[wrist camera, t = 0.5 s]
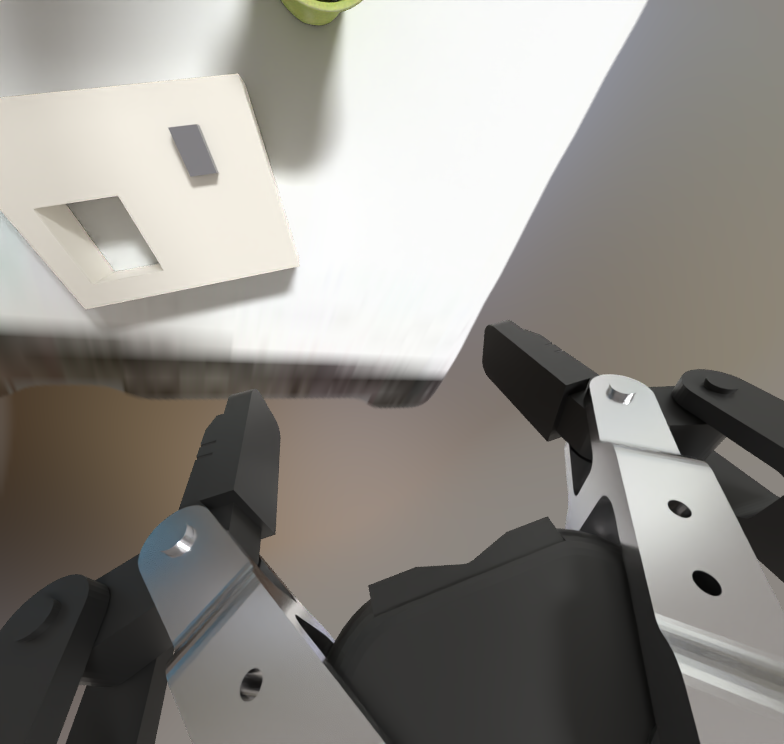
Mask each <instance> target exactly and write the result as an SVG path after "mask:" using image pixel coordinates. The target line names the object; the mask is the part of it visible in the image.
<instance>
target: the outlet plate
mask: <svg viewBox="0 0 784 744" xmlns="http://www.w3.org/2000/svg"><path fill="white" fill-rule="evenodd" d="M114 196H118V197H119V198H120V200H121V202H122V203H123V205H124V207H125V208H126V210H127V211H128V213H129V215H130V216H131V218H132V220H133V221H134V223H135V224H136V226H137V228H138V229H139V231H140V233H141V234H142V236H143V238H144V239H145V241H146V242H147V244H148V246H149V247H150V249H151V251H152V252H153V254H154V256H155V257H156V259H157V260H158V262H159V264H154V265H148V266H143V267H138V268H132V269H127V270H122V271H116V272H115V271H114V270H113V269H112V267H111V266H110V264H109V263H108V262H107V260H106V259H105V257H104V256H103V255H102V253H101V252H100V251H99V249H98V248H97V246H96V245H95V244H94V242H93V241H92V239H91V238H90V237H89V235H88V234H87V232H86V231H85V230H84V228H83V227H82V225H81V224H80V223H79V221H78V220H77V219H76V217H75V216H74V214H73V213H72V212H71V210H70V209H69V207H68V206H67V205H66V204H68V203H74V202H81V201H88V200H94V199H101V198H107V197H114ZM0 210H1V212H2V213H3V214H4V215H5V216H6V217H7V219H8V220H9V221H10V222H11V223H12V224H13V226H14V227H15V228H16V229H17V230H18V231H19V233H20V234H21V235H22V236H23V237H24V238H25V240H26V241H27V242H28V243H29V244H30V246H31V247H32V248H33V249H34V250H35V251H36V253H37V254H38V255H39V256H40V257H41V258H42V260H43V261H44V262H45V263H46V264H47V265H48V267H49V268H50V269H51V270H52V271H53V272H54V274H55V275H56V276H57V277H58V278H59V279H60V281H61V282H62V283H63V284H64V285H65V287H66V288H67V289H68V290H69V291H70V292H71V294H72V295H73V296H74V297H75V298H76V299H77V301H78V302H79V303H80V304H81V305H82V306H83V308H84V309H85V310H86V309H91V308H96V307H101V306H106V305H111V304H116V303H121V302H126V301H131V300H136V299H141V298H146V297H151V296H156V295H160V294H165V293H170V292H175V291H180V290H185V289H190V288H195V287H200V286H205V285H210V284H215V283H220V282H225V281H230V280H235V279H240V278H244V277H249V276H254V275H259V274H264V273H269V272H274V271H279V270H284V269H289V268H294V267H299V255H298V252H297V249H296V245H295V242H294V239H293V236H292V233H291V229H290V226H289V223H288V220H287V217H286V213H285V210H284V207H283V204H282V200H281V197H280V194H279V191H278V188H277V184H276V181H275V178H274V175H273V171H272V168H271V165H270V162H269V159H268V155H267V152H266V149H265V146H264V142H263V139H262V136H261V133H260V130H259V126H258V123H257V120H256V117H255V114H254V110H253V107H252V104H251V101H250V97H249V94H248V91H247V88H246V85H245V84H244V82H243V80H242V78H241V77H240V75H239V73H238V74H228V75H218V76H208V77H198V78H188V79H178V80H168V81H158V82H148V83H138V84H128V85H118V86H108V87H98V88H89V89H79V90H69V91H59V92H49V93H39V94H29V95H19V96H9V97H0Z"/></svg>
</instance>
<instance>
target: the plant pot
mask: <svg viewBox="0 0 784 744" xmlns="http://www.w3.org/2000/svg"><path fill="white" fill-rule="evenodd" d="M281 1H282V2H283V4H284V5H285V7H286V8H287V9H288V10H289V11H290V12H291V13H292V14H293V15H294V16H295V17H296V18H297V19H299V20H300V21H302V22H304V23H307V24H311V25H325V24H328V23H330V22H331V21H333V20H334V19H335V18H336V17H337V16H338V14H339V13H340V12H342V11H346V10H348V9H351V8H352V7H354V6H356V5H357V4H359V3H360V2H361V1H363V0H337V2H330V1H331V0H281Z"/></svg>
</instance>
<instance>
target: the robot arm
mask: <svg viewBox="0 0 784 744" xmlns="http://www.w3.org/2000/svg"><path fill="white" fill-rule="evenodd" d="M483 347H484V348H483V359H482V363H483V368H484V371H485V373H486V375H487V376H488V377H489V379H490V380H491V381H492V382H493V383H494V384H495V385H496V386H497V387H498V388H499V389H500V390H501V392H502V393H503V394H504V395H505V396H506V397H507V398H508V399H509V400H510V401H511V402H512V404H513V405H514V406H515V407H516V408H517V409H518V410H519V411H520V412H521V413H522V414H523V416H524V417H525V418H526V419H527V420H528V421H529V422H530V423H531V424H532V425H533V426H534V428H535V429H536V430H537V431H538V432H539V433H540V434H541V435H542V436H543V437H544V438H545V440H546V441H551V440H554V439H557V438H560V437H562V438H563V439H564V440H565V441H566V444H565V448H564V451H565V463H566V475H567V487H568V500H569V504H568V512H567V518H566V527H565V529H556V528H555V526H554V525H553V524H552V522H551V521H550V519H549V518H548V517H545V518H542V519H540V520H537V521H535V522H532V523H529V524H527V525H524V526H521V527H519V528H516V529H514V530H511V531H509V532H506V533H505V534H504V535H503V536H501V537H500V538H499V539H498V540H497V541H495V542H494V543H493V544H492V545H491V546H490V547H488V548H487V549H486V550H485V551H483V552H482V553H481V554H480V555H479V556H477V557H476V558H475V559H474V560H473V561H471V562H470V563H467V564H461V565H444V566H430V567H415V568H413V569H410V570H407V571H405V572H402V573H399V574H397V575H394V576H392V577H389V578H387V579H384V580H381V581H379V582H376V583H374V584H371V585H369V592H370V597H371V599H370V600H369V601H368V602H367V603H365V604H364V605H363V606H362V607H361V608H360V609H359V610H358V611H357V612H356V613H355V614H354V615H353V616H352V617H351V619H350V620H349V621H348V623H347V624H346V625H345V626H344V628H343V629H342V631H341V632H340V634H339V636H338V637H337V639H336V640H334V639H333V638H332V636H331V635H330V634H329V633H328V632H327V631H326V629H325V628H324V627H323V626H322V625H321V624H320V623H319V622H318V621H317V619H316V618H315V617H313V615H312V614H311V613H310V612H308V610H307V609H306V608H305V607H304V606H303V605H302V604H301V603H300V601H299V600H298V599H297V598H296V597H295V596H294V594H293V593H292V592H291V591H290V590H289V588H288V587H287V586H286V585H285V584H284V582H283V581H282V580H281V579H280V578H279V577H278V575H277V574H276V573H275V572H274V571H273V570H272V568H271V567H270V566H269V565H268V564H267V562H266V561H265V560H264V559H263V558H262V556H261V555H259V552H260V541H261V539H263V538H266V537H269V536H272V535H275V531H276V512H277V493H278V473H279V454H280V431H279V427H278V424H277V422H276V420H275V418H274V416H273V414H272V413H271V411H270V410H269V408H268V406H267V404H266V402H265V401H264V399H263V397H262V396H261V394H260V392H259V391H258V390H257V389H252V390H248V391H245V392H241V393H237V394H234V395H230V396H229V398H228V401H227V405H226V408H225V412H224V414H221V415H218V416H216V418H215V419H214V420H213V421H212V423H211V424H210V425H209V426H208V428H207V429H206V430H205V434H204V436H203V439H202V442H201V447H200V448H199V451H198V454H197V460H195V463H194V466H193V469H192V472H191V475H190V478H189V481H188V484H187V487H186V490H185V493H184V496H183V499H182V501H181V504H180V507H179V510H178V511H177V512H175V513H173V514H172V515H170V516H169V517H167V518H166V519H165V520H164V521H163V522H161V523H160V524H159V525H158V526H157V527H156V528H155V529H154V530H153V532H152V533H151V534H150V535H149V537H148V539H147V540H146V542H145V543H144V545H143V547H142V549H141V552H140V554H138V555H136V556H135V557H133V558H132V559H130V560H128V561H127V562H125V563H123V564H122V565H120V566H118V567H117V568H115V569H113V570H112V571H110V572H109V573H107V574H105V575H104V576H102V577H100V578H99V579H97V580H92V579H90V578H87V577H85V576H83V575H78V574H75V575H69V576H66V577H63V578H60V579H58V580H56V581H54V582H52V583H51V584H49V585H47V586H46V587H44V588H43V589H41V590H40V591H39V592H37V593H36V594H35V595H33V596H32V597H31V598H30V599H29V600H28V601H26V602H25V603H24V604H23V605H22V606H21V607H20V608H19V609H18V610H17V611H16V612H15V613H14V614H13V615H12V617H11V618H10V619H9V620H8V621H7V622H6V624H5V625H4V626H3V628H2V629H1V630H0V744H57V741H58V738H59V736H60V733H61V730H62V728H63V725H64V722H65V720H66V717H67V714H68V712H69V709H70V706H71V704H72V701H73V698H74V696H75V693H76V690H77V687H78V685H87V686H86V689H85V691H84V694H83V697H82V700H81V703H80V705H79V708H78V711H77V714H76V716H75V719H74V722H73V725H72V728H71V730H70V733H69V736H68V739H67V742H66V744H155V739H156V734H157V729H158V724H159V719H160V715H161V710H162V705H163V700H164V695H165V690H166V686H167V682H168V685H169V688H170V690H171V693H172V695H173V698H174V700H175V702H176V705H177V707H178V710H179V712H180V715H181V717H182V720H183V722H184V724H185V727H186V730H187V732H188V734H189V737H190V739H191V742H192V744H784V611H783V610H782V607H781V606H780V604H779V602H778V600H777V598H776V596H775V594H774V592H773V590H772V588H771V586H770V584H769V582H768V580H767V578H766V576H765V574H764V572H763V570H762V568H761V566H760V564H759V562H758V560H759V561H760V562H762V563H763V564H764V565H765V566H766V567H767V568H768V569H769V570H770V571H772V572H773V573H774V574H775V575H776V576H777V577H778V578H779V579H780V580H781V581H783V582H784V496H782V497H781V498H780V497H778V496H776V495H775V494H773V493H772V492H770V491H769V490H768V489H766V488H765V487H763V486H762V485H761V484H759V483H758V482H756V481H755V480H754V479H752V478H751V477H750V476H748V475H747V474H745V473H744V472H743V471H741V470H740V469H738V468H737V467H736V466H734V465H733V464H732V463H730V462H729V461H728V460H726V459H725V458H723V457H722V456H721V455H719V454H718V453H716V452H715V451H714V449H715V448H716V447H717V446H718V445H719V444H720V443H721V442H722V441H723V440H724V439H725V438H726V437H728V438H729V439H731V440H732V441H734V442H735V443H736V444H738V445H739V446H741V447H742V448H744V449H745V450H747V451H748V452H750V453H752V454H753V455H754V456H756V457H758V458H759V459H760V460H762V461H763V462H765V463H767V464H768V465H769V466H771V467H772V468H774V469H775V470H777V471H778V472H779V473H780V474H781V475H782V476H783V477H784V401H783V400H781V399H779V398H777V397H775V396H773V395H771V394H769V393H767V392H765V391H763V390H761V389H759V388H757V387H755V386H754V385H752V384H750V383H748V382H746V381H744V380H742V379H740V378H737V377H735V376H732V375H729V374H726V373H723V372H718V371H712V370H704V369H703V370H702V369H697V370H690V371H687V372H685V373H684V374H683V375H682V377H681V378H680V380H679V381H678V383H677V384H676V386H666V387H647V386H646V385H644V384H643V383H641V382H639V381H637V380H635V379H632V378H629V377H626V376H622V375H615V374H605V375H598V374H597V373H595V372H594V371H592V370H591V369H589V368H588V367H586V366H585V365H584V364H582V363H581V362H579V361H578V360H576V359H575V358H573V357H572V356H571V355H569V354H568V353H566V352H565V351H562V350H561V349H560V348H559V347H557V346H556V345H552V342H550V341H549V340H547V339H546V338H544V337H543V336H541V335H539V334H536V333H534V332H531V331H528V330H523V329H522V328H520V327H519V326H518V325H516V324H515V323H513V322H512V321H510V320H506V321H503V322H499V323H495V324H491V325H488V326H487V327H486V329H485V334H484V346H483ZM757 559H758V560H757ZM174 650H175V653H174V655H173V652H174Z"/></svg>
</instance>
